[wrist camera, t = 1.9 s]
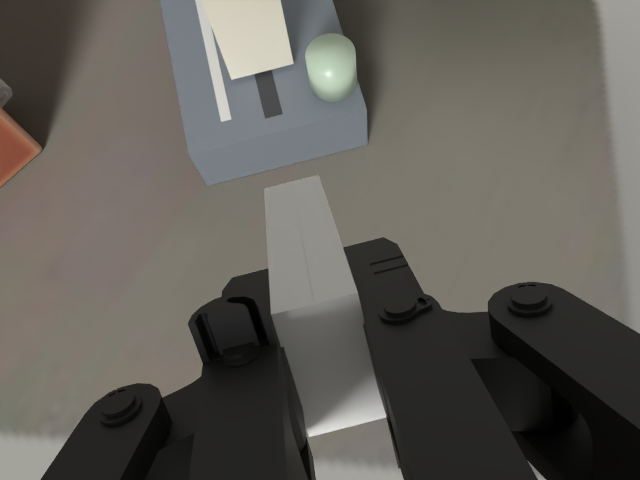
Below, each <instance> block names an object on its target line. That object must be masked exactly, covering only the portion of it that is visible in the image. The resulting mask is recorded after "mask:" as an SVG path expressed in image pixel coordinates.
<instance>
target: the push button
mask: <svg viewBox="0 0 640 480" xmlns="http://www.w3.org/2000/svg"><path fill="white" fill-rule="evenodd" d="M305 59H306V65H307V71H308V76H309V82H310V88H311V90H312V92H313V93H314V95H315V96H316V97H318V98H319V99H321V100H323V101H327V102H337V101H341V100H344V99H346V98H347V97H349V96H350V95H351V94H352V93H353V91H354V90H355V88H356V85H357V71H356V51H355V47H354V45H353V43H352V42H351V41H350V40H349V39H348V38H346V37H345V36H343V35H340V34H334V33H329V34H324V35H321V36H318V37H317V38H315V39H314V40H313V41H311V43H310V44H309V45H308V47H307V49H306V52H305Z"/></svg>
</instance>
